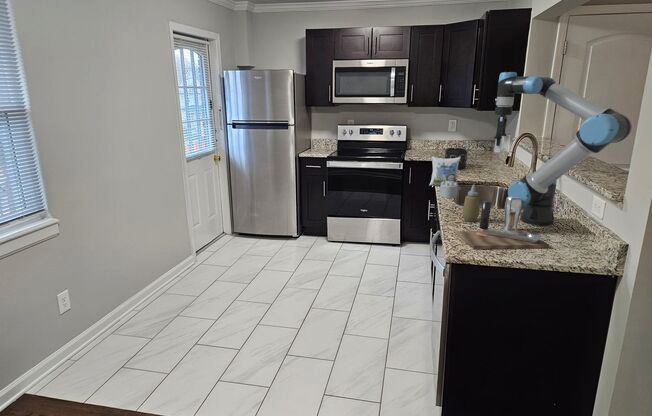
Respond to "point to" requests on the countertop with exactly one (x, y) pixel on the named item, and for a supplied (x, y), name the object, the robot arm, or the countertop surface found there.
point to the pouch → (444, 170)
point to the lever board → (497, 241)
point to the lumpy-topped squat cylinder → (449, 189)
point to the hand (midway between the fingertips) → (498, 150)
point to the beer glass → (512, 213)
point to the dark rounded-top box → (455, 154)
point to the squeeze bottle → (471, 205)
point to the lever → (519, 236)
